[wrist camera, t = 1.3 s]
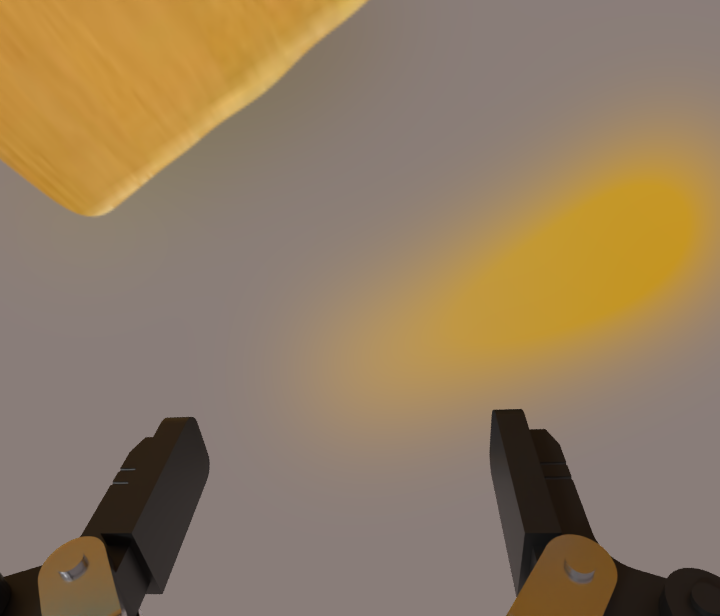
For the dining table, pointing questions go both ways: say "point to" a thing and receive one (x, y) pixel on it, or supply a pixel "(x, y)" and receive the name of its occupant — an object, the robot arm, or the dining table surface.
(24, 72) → the dining table surface
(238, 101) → the dining table surface
